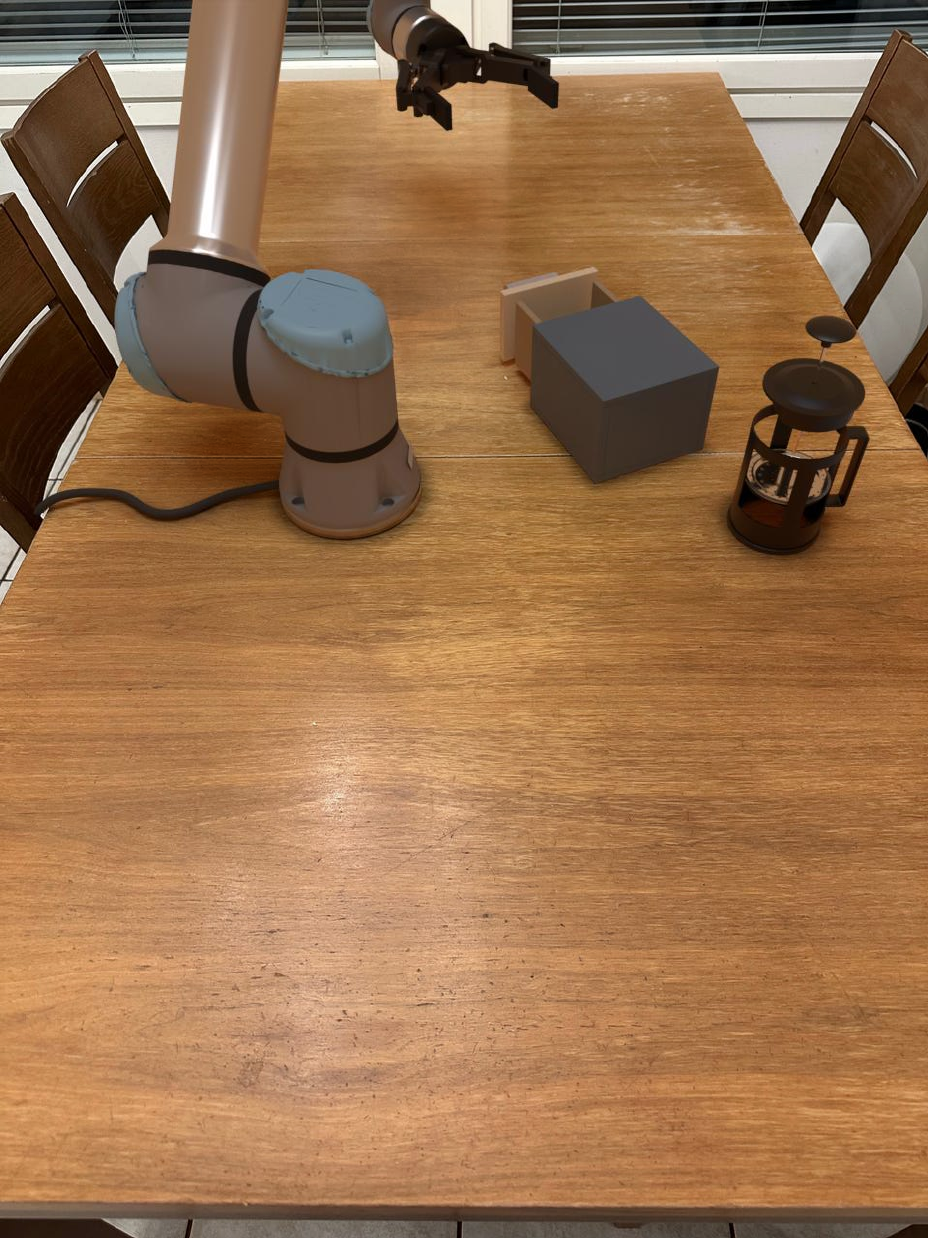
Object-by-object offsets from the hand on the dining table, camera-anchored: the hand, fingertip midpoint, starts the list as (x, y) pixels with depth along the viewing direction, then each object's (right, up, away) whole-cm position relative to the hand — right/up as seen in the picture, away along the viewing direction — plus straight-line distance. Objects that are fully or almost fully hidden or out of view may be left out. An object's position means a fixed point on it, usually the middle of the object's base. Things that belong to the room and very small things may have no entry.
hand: (503, 106), depth 109 cm
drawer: (+8, -28, +7) cm, 30 cm away
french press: (+28, -49, -11) cm, 58 cm away
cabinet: (+13, -37, +1) cm, 39 cm away
